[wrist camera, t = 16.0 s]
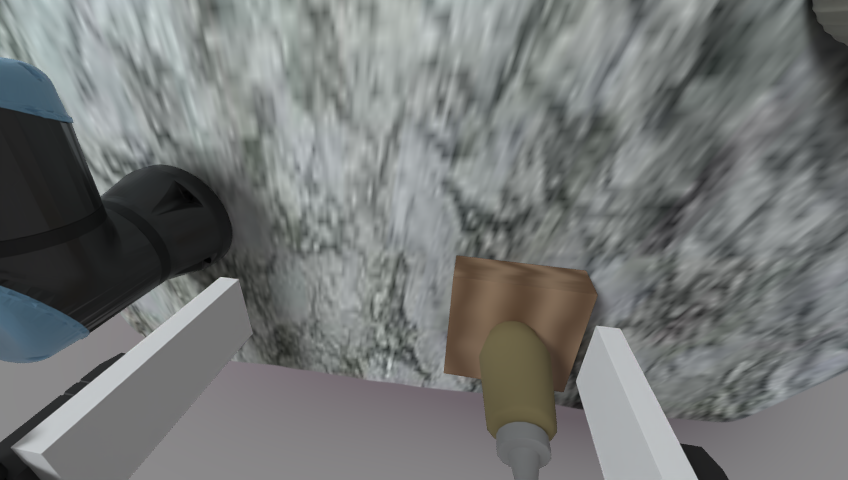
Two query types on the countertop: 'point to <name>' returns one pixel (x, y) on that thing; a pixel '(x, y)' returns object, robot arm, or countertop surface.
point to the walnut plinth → (517, 311)
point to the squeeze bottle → (518, 397)
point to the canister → (833, 17)
